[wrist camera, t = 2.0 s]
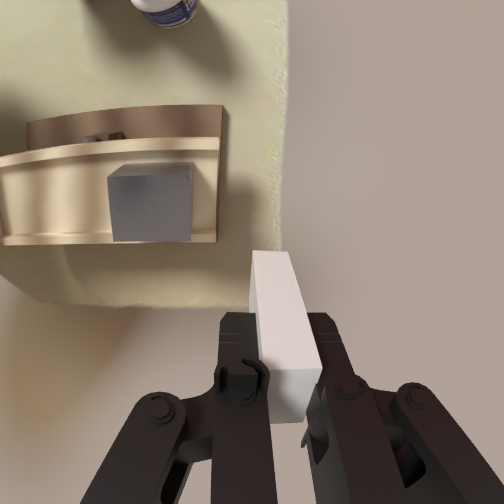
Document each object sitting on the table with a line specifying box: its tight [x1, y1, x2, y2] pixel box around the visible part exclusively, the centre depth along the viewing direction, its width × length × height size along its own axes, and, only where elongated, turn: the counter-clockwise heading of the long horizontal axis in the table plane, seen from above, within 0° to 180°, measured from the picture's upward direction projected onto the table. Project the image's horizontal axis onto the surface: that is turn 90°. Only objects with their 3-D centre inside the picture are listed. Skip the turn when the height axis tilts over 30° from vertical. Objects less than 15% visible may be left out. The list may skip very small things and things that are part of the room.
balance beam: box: [0, 136, 219, 247], centre depth 24 cm, size 24×10×4 cm, turn 87°
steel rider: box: [107, 162, 193, 242], centre depth 23 cm, size 6×5×5 cm
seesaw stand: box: [27, 105, 223, 243], centre depth 28 cm, size 24×15×5 cm, turn 86°
